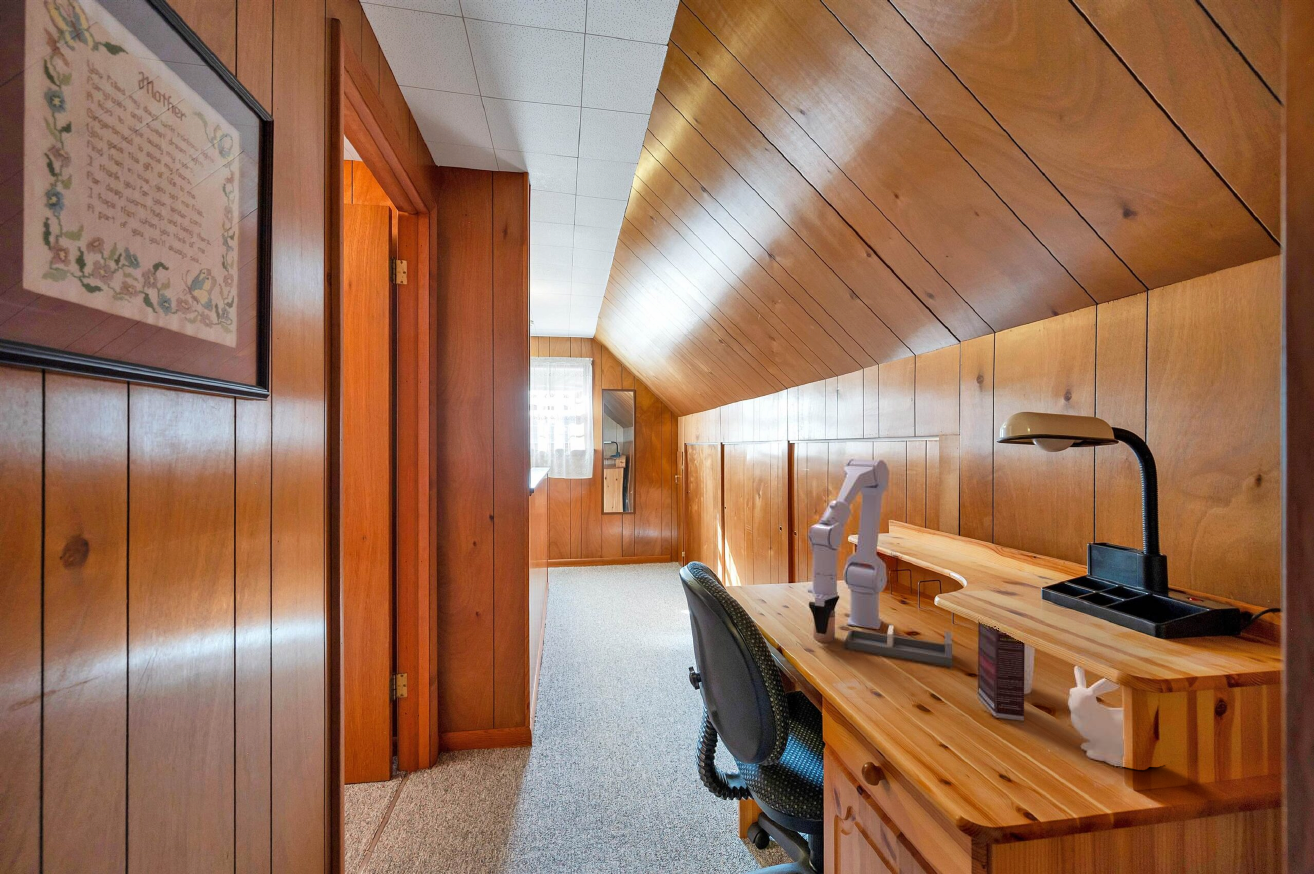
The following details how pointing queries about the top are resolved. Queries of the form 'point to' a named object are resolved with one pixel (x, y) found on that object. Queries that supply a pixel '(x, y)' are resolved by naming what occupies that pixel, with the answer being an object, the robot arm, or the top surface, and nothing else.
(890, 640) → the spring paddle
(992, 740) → the top surface
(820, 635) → the jar
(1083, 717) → the rabbit
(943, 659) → the tray
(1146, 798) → the top surface
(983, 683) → the supplement box
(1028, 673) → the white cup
